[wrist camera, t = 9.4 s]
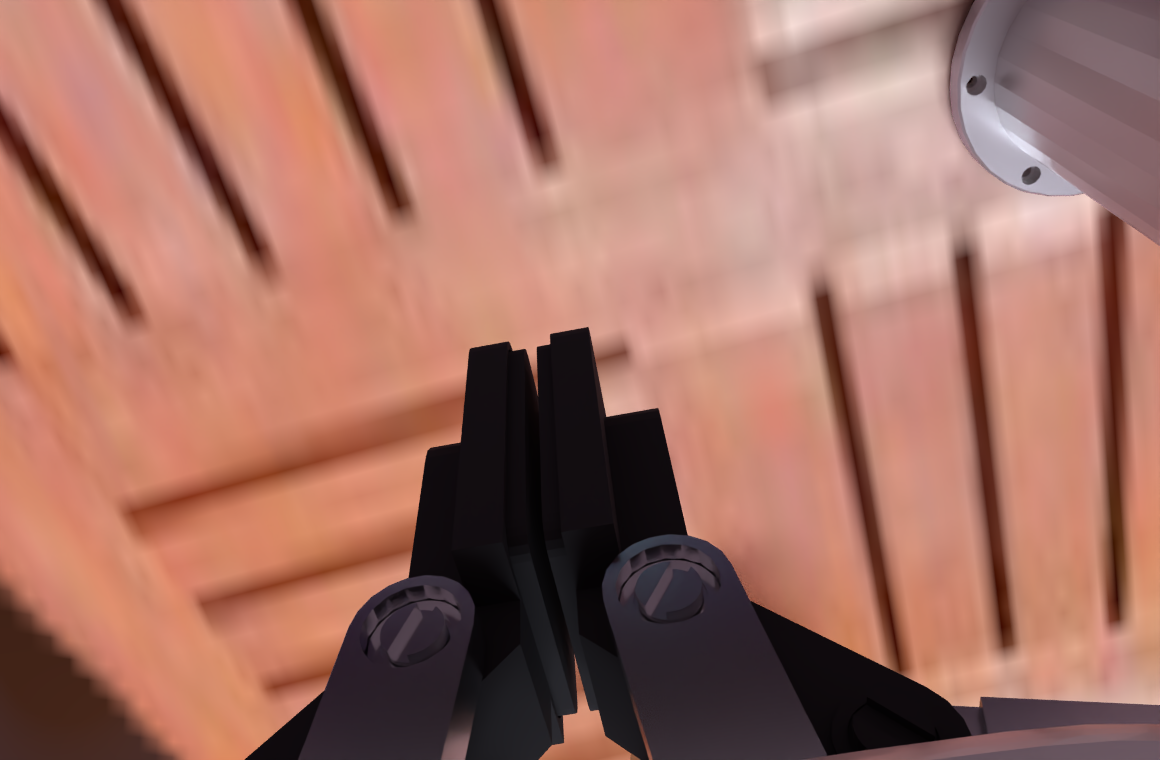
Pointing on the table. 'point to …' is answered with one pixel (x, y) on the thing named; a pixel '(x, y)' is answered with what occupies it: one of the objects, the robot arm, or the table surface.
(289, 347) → the table surface
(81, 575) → the table surface
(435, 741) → the robot arm
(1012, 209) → the table surface
